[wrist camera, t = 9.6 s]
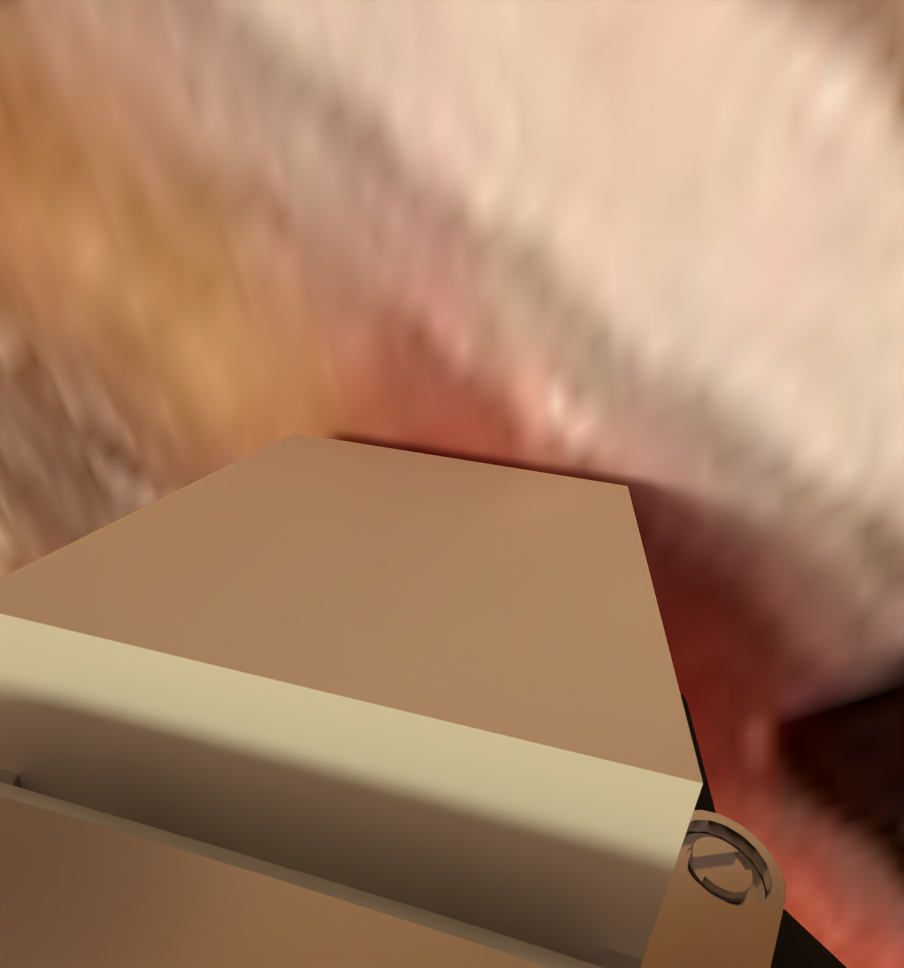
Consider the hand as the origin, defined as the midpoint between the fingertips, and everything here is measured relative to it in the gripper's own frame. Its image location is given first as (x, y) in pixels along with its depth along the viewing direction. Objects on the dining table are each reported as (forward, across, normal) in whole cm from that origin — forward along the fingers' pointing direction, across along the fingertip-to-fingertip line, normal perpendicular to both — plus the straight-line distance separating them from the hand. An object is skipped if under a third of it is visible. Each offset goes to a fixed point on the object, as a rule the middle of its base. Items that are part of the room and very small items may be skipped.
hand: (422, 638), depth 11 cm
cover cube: (+1, 0, 0) cm, 1 cm away
